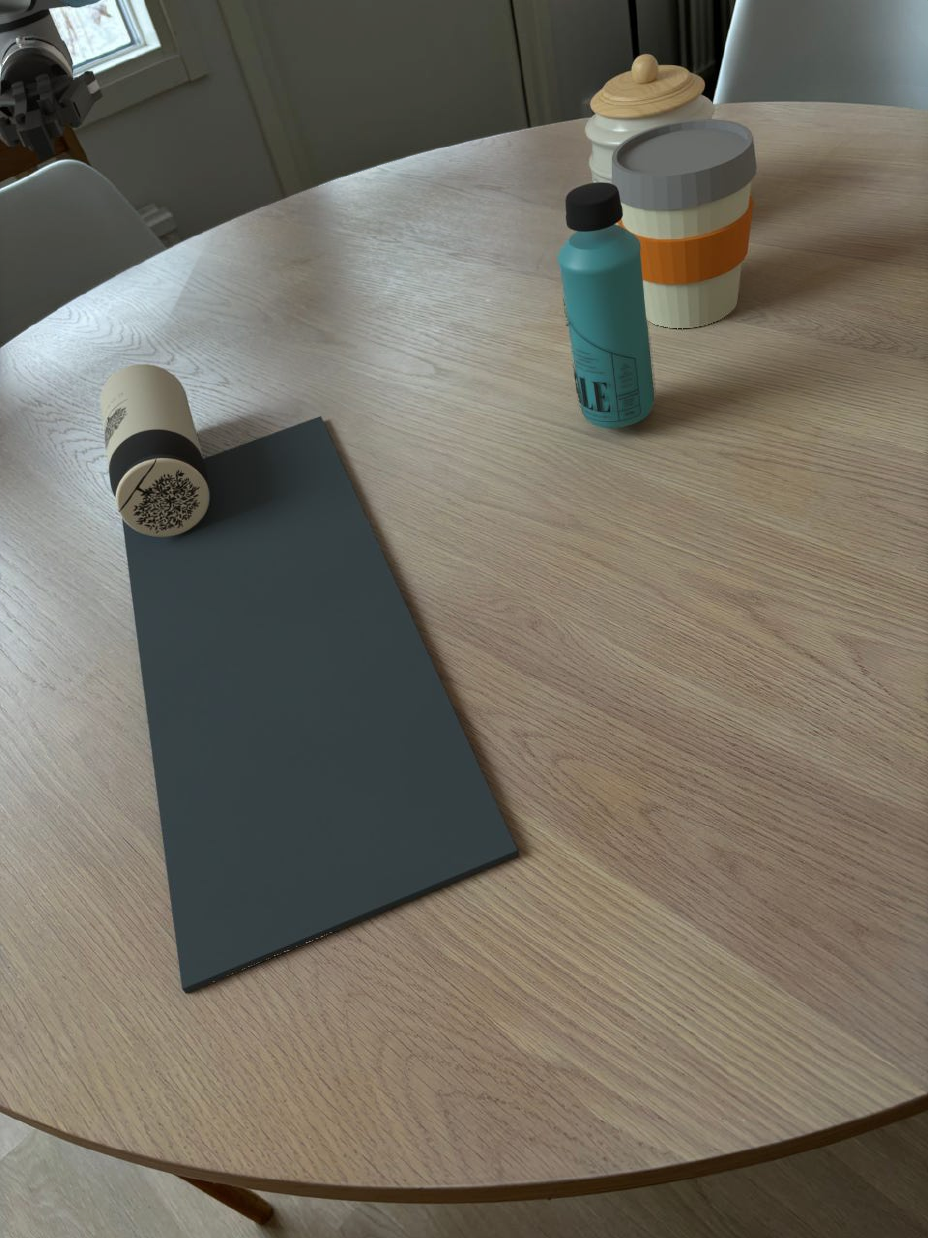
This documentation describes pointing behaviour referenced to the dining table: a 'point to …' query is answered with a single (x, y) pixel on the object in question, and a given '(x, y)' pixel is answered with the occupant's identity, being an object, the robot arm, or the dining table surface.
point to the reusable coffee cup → (688, 215)
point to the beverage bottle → (606, 309)
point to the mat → (295, 716)
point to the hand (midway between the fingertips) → (40, 143)
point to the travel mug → (153, 451)
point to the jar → (641, 108)
